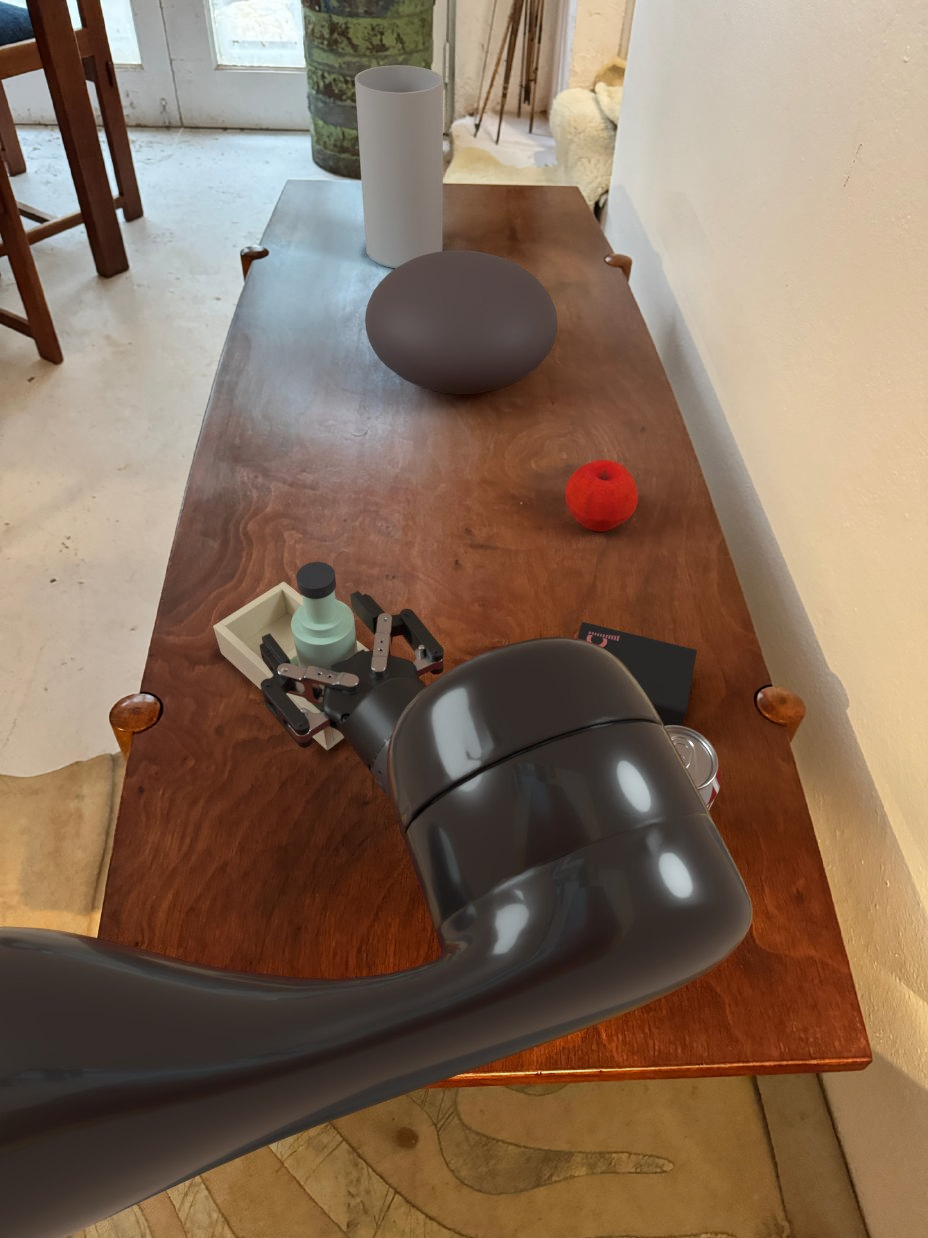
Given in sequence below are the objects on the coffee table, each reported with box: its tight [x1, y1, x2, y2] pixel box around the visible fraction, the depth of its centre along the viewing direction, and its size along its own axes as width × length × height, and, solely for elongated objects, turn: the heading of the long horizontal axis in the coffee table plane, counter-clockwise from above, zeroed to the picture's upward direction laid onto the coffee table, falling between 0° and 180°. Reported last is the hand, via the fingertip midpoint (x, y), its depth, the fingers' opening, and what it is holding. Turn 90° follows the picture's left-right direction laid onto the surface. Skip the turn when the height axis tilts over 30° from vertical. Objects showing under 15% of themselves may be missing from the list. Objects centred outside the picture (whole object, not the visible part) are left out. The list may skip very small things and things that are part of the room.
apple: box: [565, 459, 639, 533], centre depth 93 cm, size 8×8×7 cm
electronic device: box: [576, 621, 698, 726], centre depth 77 cm, size 7×11×5 cm
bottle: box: [291, 561, 358, 712], centre depth 72 cm, size 5×5×15 cm
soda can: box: [664, 725, 722, 811], centre depth 65 cm, size 7×7×12 cm
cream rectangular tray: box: [212, 581, 370, 751], centre depth 78 cm, size 8×16×4 cm, turn 46°
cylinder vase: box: [354, 64, 444, 269], centre depth 129 cm, size 12×12×25 cm
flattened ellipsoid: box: [364, 249, 558, 395], centre depth 110 cm, size 25×25×15 cm
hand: (311, 619), depth 72 cm, fingers open, 8 cm apart
